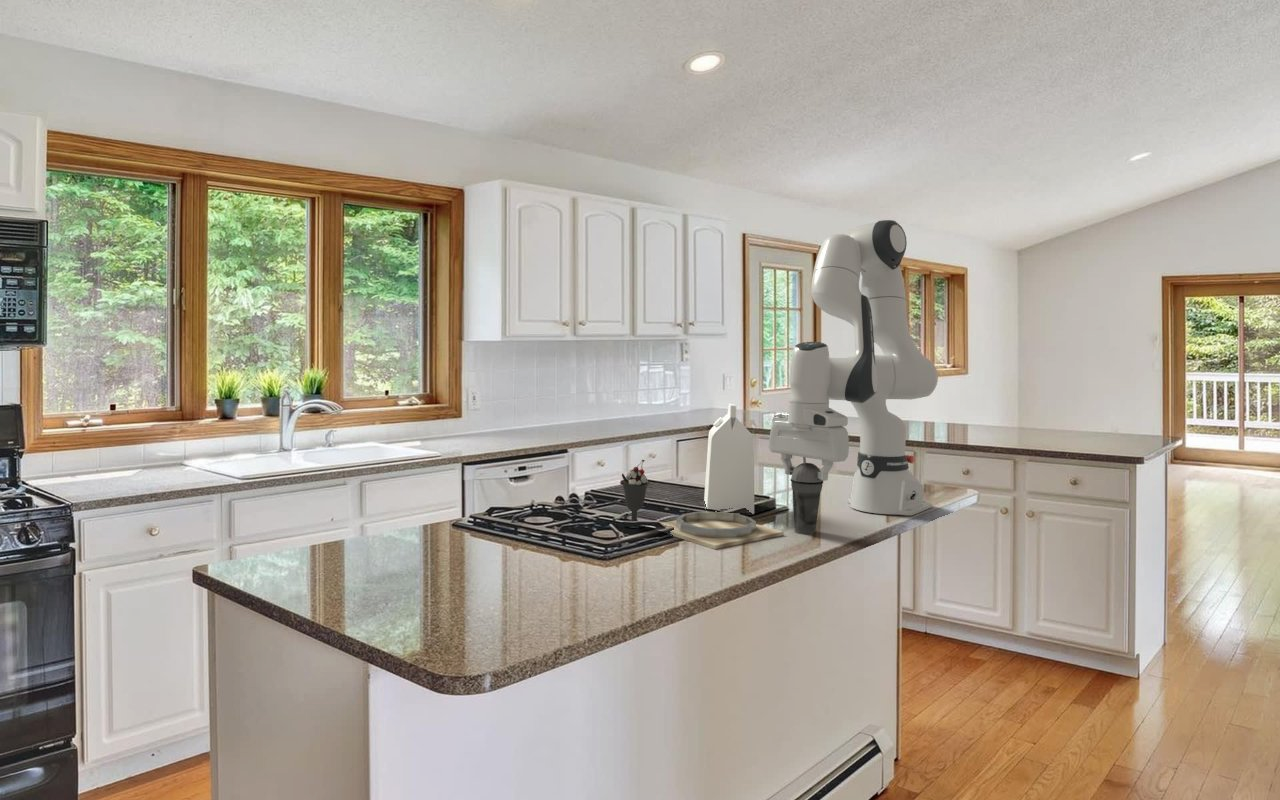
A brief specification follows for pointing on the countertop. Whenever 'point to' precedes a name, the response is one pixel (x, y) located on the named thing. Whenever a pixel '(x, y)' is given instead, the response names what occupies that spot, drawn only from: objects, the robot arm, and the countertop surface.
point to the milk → (730, 464)
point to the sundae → (634, 490)
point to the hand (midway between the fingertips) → (805, 477)
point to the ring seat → (719, 529)
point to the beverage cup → (805, 497)
